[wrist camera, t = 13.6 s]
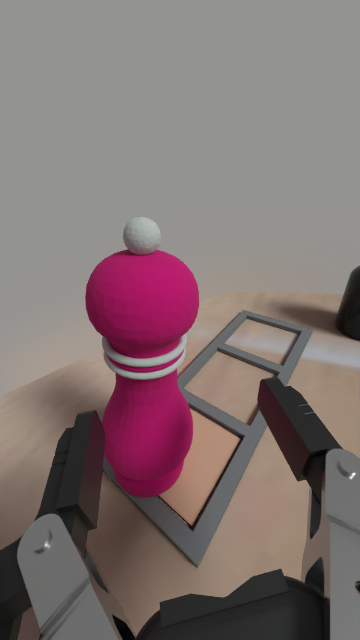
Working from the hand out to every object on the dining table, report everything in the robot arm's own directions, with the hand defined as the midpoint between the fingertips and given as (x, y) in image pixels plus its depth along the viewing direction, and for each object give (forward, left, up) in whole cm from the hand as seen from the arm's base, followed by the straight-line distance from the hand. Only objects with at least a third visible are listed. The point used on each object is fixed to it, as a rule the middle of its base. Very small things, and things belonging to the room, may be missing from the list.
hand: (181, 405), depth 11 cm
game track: (+13, +3, -13) cm, 18 cm away
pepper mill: (+1, +5, -12) cm, 13 cm away
